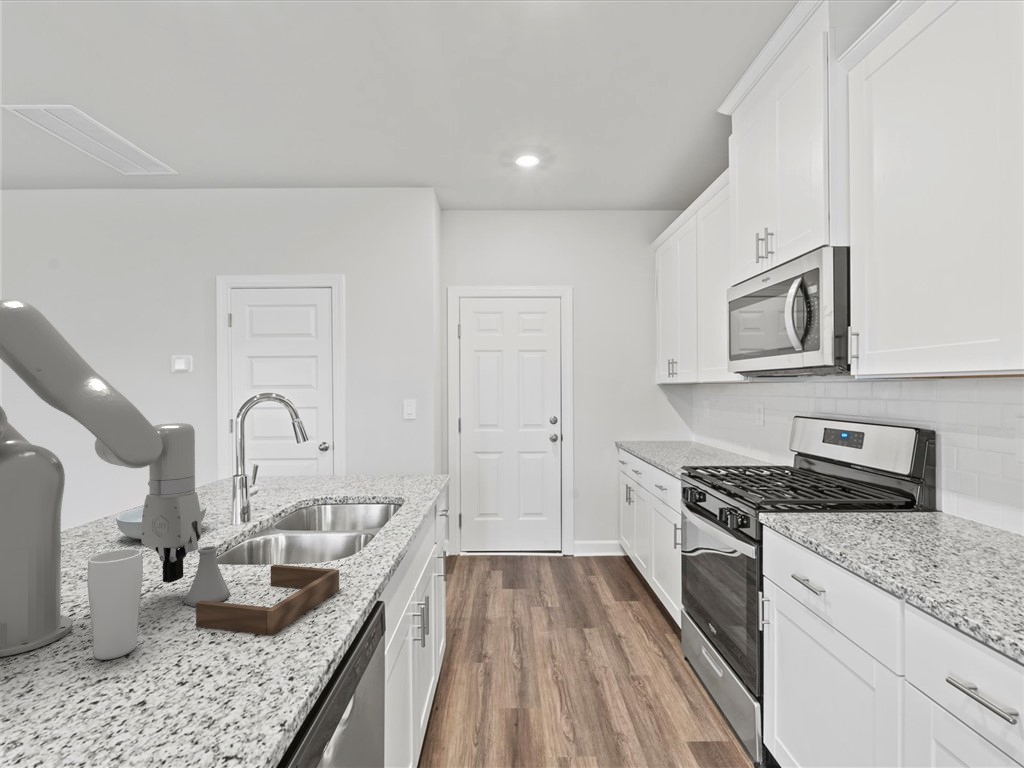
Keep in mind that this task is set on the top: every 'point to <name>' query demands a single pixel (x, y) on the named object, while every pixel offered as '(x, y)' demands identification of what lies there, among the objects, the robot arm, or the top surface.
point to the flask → (207, 579)
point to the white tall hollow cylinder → (115, 601)
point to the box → (271, 620)
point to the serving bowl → (139, 521)
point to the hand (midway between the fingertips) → (173, 579)
